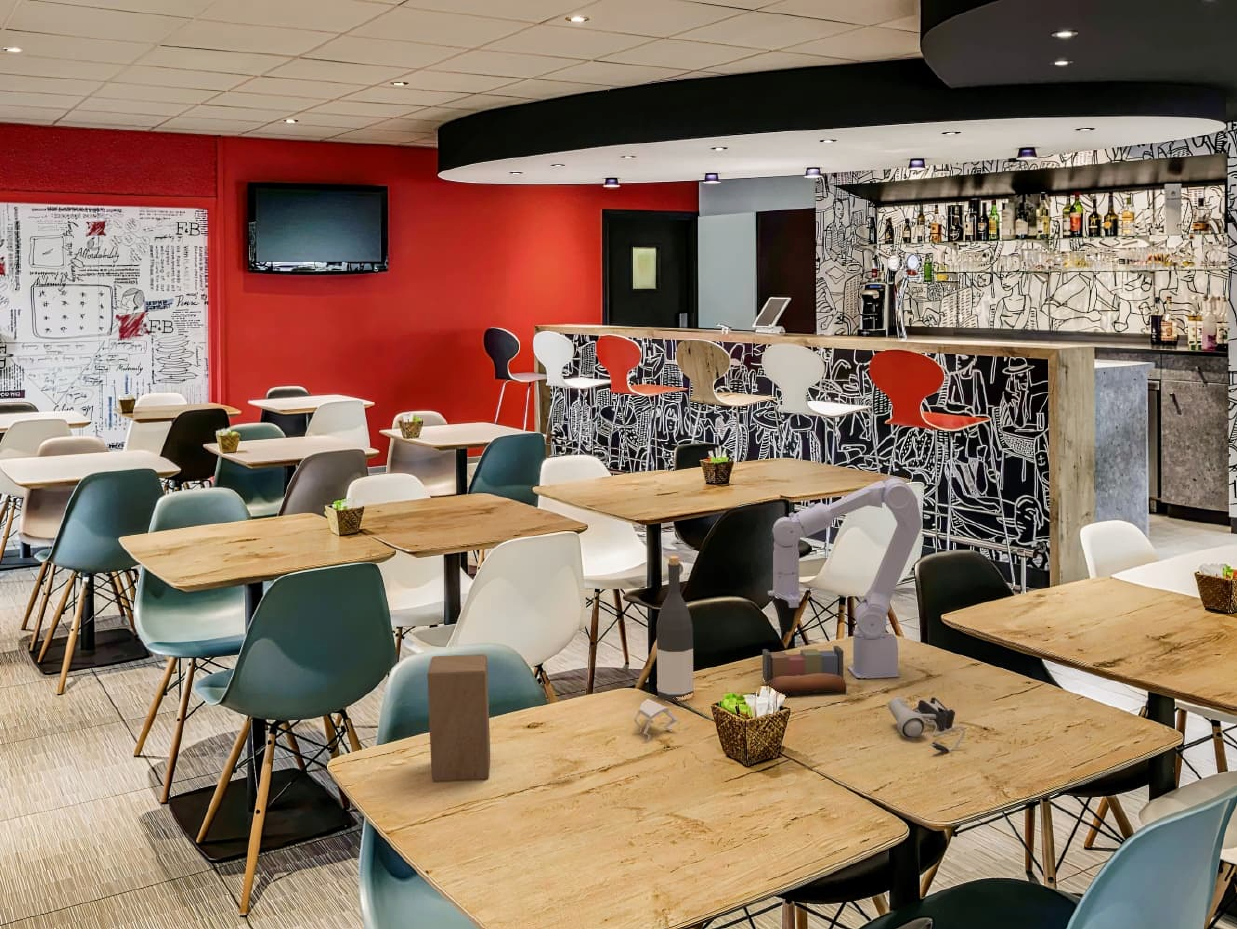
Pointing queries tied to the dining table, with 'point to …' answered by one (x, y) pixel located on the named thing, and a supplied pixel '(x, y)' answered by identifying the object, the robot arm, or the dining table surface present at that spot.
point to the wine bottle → (674, 641)
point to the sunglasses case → (807, 683)
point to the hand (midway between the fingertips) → (785, 631)
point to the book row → (802, 663)
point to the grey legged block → (653, 714)
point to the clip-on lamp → (914, 723)
